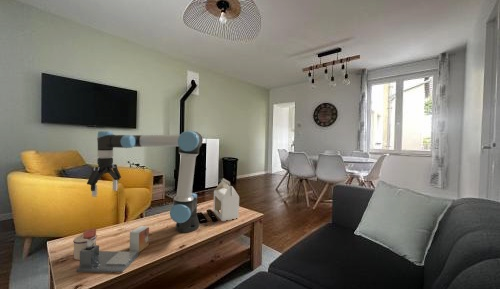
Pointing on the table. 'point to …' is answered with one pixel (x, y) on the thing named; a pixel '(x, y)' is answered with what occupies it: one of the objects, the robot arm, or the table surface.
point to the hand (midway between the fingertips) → (105, 193)
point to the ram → (89, 237)
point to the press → (105, 260)
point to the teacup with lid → (81, 245)
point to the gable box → (226, 201)
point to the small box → (139, 239)
